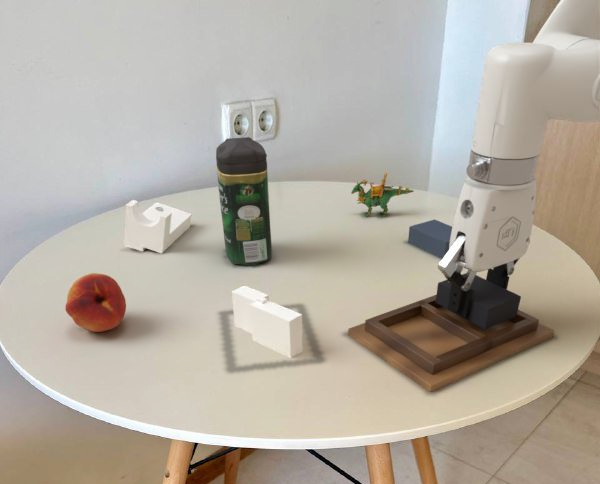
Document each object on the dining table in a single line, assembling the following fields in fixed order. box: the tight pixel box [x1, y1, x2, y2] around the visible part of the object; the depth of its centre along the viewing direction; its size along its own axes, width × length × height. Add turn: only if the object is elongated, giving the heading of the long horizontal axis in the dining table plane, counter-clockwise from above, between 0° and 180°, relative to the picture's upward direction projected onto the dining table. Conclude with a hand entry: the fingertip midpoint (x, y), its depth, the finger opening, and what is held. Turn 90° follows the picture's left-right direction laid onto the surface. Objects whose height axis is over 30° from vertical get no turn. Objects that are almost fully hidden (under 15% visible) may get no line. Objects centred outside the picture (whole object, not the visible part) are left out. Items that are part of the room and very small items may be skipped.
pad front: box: [407, 219, 453, 260], centre depth 102 cm, size 9×6×3 cm, turn 33°
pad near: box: [435, 272, 522, 329], centre depth 79 cm, size 9×6×3 cm, turn 33°
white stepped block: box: [231, 285, 318, 359], centre depth 78 cm, size 15×11×6 cm
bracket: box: [123, 199, 193, 254], centre depth 106 cm, size 13×7×8 cm, turn 166°
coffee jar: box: [215, 136, 273, 266], centre depth 96 cm, size 10×8×19 cm
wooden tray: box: [347, 294, 555, 393], centre depth 78 cm, size 16×22×2 cm
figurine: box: [351, 172, 415, 218], centre depth 114 cm, size 3×12×8 cm, turn 87°
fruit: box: [65, 272, 127, 333], centre depth 80 cm, size 8×8×8 cm
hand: (475, 305), depth 79 cm, fingers closed on pad near, 6 cm apart
